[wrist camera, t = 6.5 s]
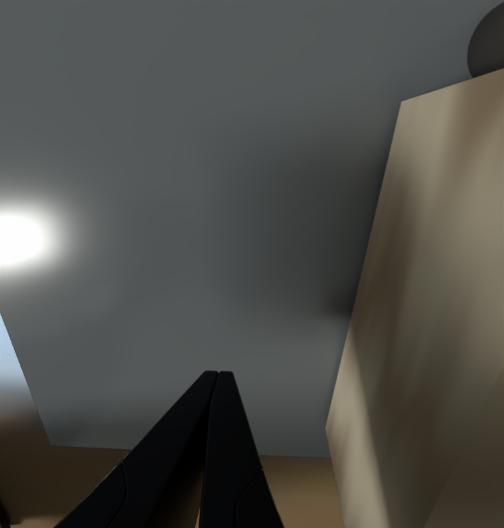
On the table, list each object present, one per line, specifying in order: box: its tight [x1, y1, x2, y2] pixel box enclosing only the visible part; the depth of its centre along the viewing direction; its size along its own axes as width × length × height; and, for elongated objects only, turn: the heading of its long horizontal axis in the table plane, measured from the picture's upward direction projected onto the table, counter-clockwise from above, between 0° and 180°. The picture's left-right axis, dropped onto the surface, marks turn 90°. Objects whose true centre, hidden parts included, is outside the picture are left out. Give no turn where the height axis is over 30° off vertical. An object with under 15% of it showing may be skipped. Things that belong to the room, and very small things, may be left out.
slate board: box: [0, 0, 504, 458], centre depth 11 cm, size 20×20×1 cm
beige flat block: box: [325, 68, 504, 528], centre depth 8 cm, size 12×2×6 cm, turn 176°
